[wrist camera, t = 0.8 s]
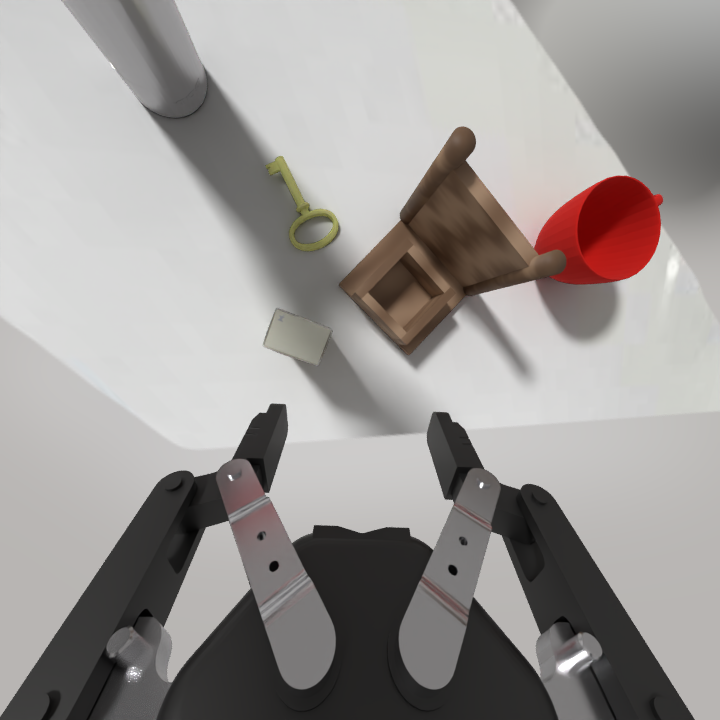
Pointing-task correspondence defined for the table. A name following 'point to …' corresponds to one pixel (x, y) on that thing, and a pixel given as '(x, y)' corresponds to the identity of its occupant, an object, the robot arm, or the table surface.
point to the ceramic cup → (604, 231)
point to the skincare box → (297, 337)
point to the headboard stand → (444, 251)
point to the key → (302, 208)
